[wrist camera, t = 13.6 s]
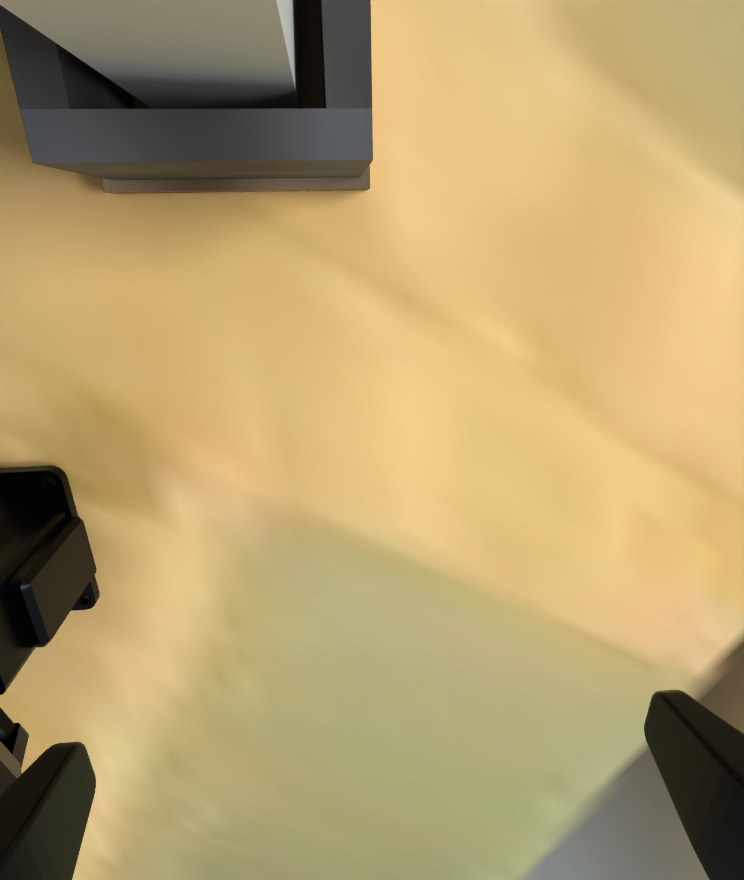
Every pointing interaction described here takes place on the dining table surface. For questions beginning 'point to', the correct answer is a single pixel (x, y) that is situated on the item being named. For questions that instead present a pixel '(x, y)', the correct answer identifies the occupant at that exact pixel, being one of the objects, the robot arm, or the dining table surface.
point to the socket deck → (204, 118)
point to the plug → (182, 48)
